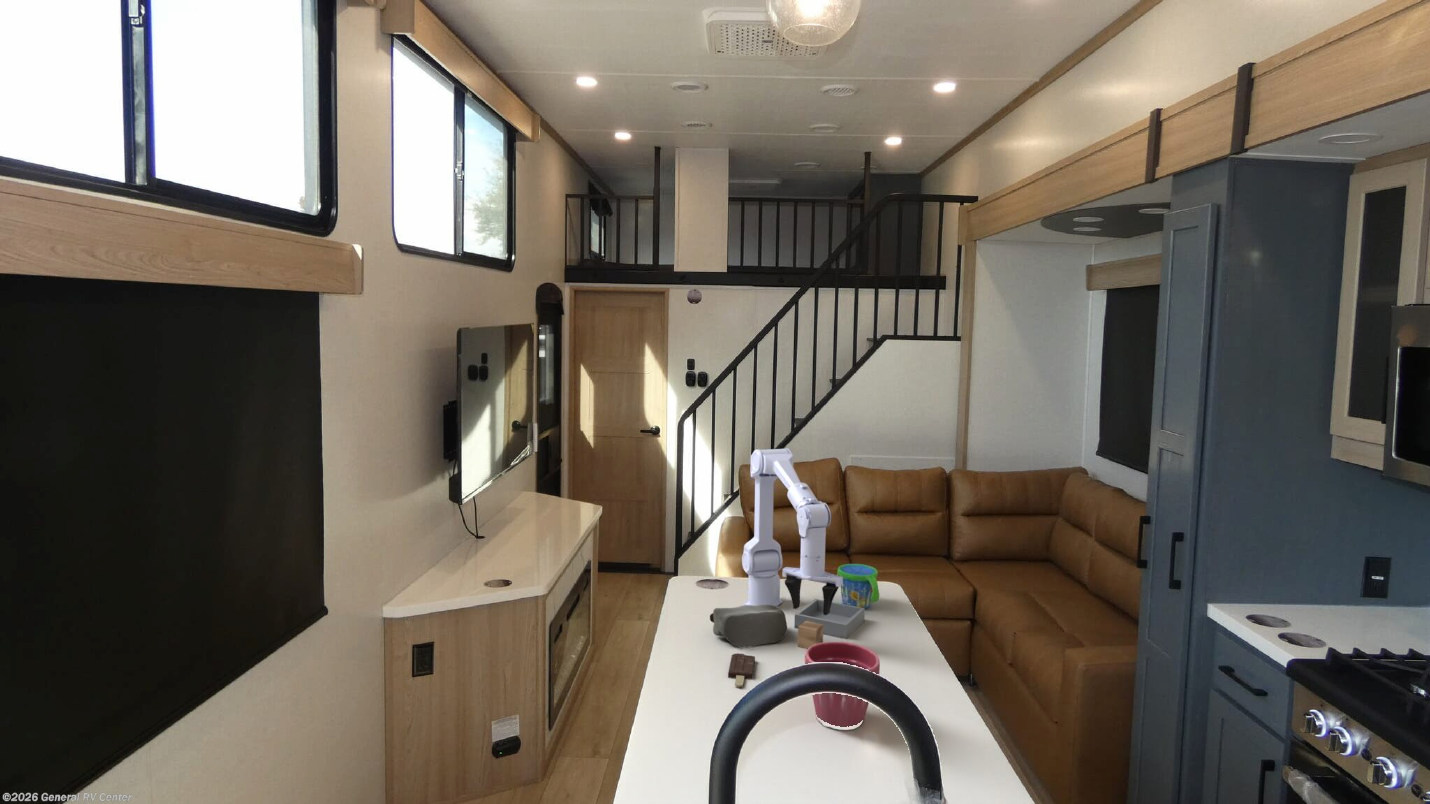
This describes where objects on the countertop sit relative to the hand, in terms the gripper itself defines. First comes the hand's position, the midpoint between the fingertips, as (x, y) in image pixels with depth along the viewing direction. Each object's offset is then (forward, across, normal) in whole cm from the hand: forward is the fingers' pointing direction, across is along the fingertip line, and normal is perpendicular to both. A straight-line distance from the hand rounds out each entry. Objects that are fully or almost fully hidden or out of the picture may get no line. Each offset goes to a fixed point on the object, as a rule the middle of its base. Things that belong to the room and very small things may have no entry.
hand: (811, 610), depth 187 cm
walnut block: (+9, 0, 0) cm, 9 cm away
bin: (+8, -1, +15) cm, 17 cm away
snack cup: (+9, 0, +32) cm, 33 cm away
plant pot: (+9, +19, -30) cm, 37 cm away
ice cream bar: (+9, -7, -22) cm, 25 cm away
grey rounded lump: (+9, -15, -3) cm, 18 cm away
